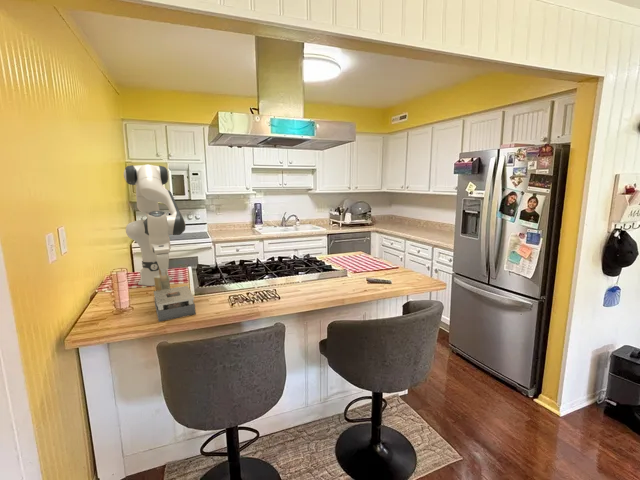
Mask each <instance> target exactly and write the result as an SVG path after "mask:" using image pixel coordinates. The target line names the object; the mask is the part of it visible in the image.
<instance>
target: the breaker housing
mask: <svg viewBox="0 0 640 480" xmlns="http://www.w3.org/2000/svg"><path fill="white" fill-rule="evenodd" d="M153 295H154V297H153V298H154V307H155V311H156V316H157V320H158V322H160V323H161V322H164V321H170V320H174V319H180V318H184V317H188V316H193V315H196V314H197V313H196V304H195V302H194V300H195V297H194V295H193V293H192V292H191V289H190V288H189V286H188V285H184V286H177V287H173V288H172V287H170V289H164V290H158V291H156V290H154V291H153ZM172 296H174V297H172Z"/></svg>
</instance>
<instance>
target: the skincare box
mask: <svg viewBox="0 0 640 480" xmlns="http://www.w3.org/2000/svg"><path fill="white" fill-rule="evenodd" d="M169 276H170V275H169V273H168V274H167V281H160V276H159V275H158V276H156V277H154V281H155V285H154V289H155V291H158V290H164V289H170V288H171V283H170V281H169Z"/></svg>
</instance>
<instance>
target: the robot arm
mask: <svg viewBox="0 0 640 480" xmlns="http://www.w3.org/2000/svg"><path fill="white" fill-rule="evenodd" d="M123 178H124V180H125V182H126V183H127V184H128V185H132V186H135V185H136V187H135V196H136V198H135V199H136V207H137V209H138V211H139V212H141V213H143V214H145V215H146V218H145V219H139V220H134V221H132V222H129V223H128V224H127V225H126V227H125V233H126V235H127V237H128V238H129V239H131V240H133V241H134V242H135V243H136V244H137V245H138V247H139V248H140V253H141V258H142V260H141V265H142V266H141V267H142V269H141V270H140V271H139V275H140V279H139V280H138V282H137V285H139V286H146V287H147V286H148V287H149V286H155V281H154V277H156V276H158V275H159V269H160V270H161V275H162V276H165V275H166V273H165V271H166V272H167V274H168V275H169V271H168V270H169V266H170V265H169V264H170V257H169V255H170V254H169V253H171V237H170V236H181V235H182V234H183V233H184V232H185V231H186V221H185V219H184V217H183V215H182V213H181V212H180V209H179V207H178V205H177V201H176V200H175V197H174V196H173V194H172V192H171V191H170V190H169V189H167V188H165V186H164V185H166V184H168V182H169V179H170V173H169V170H168V169H167V167H166V166H163V165H152V164H148V163H147V164H142V165H141V164H140V165H131V164H130V165H127V166H126V167H125V168H124V170H123ZM159 204H164V205H166V207H167V209H168V211H169V213H170V215H167V214H166V212H165V211H162V210H161V211H160V207H159ZM172 280H173V278H172V277H171V276H170V275H169V282H171V281H172Z"/></svg>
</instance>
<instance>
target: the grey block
mask: <svg viewBox="0 0 640 480" xmlns="http://www.w3.org/2000/svg"><path fill="white" fill-rule="evenodd" d="M165 273H166V275H165V276H162V275H161V270H160V269H159V276H160V281H167V272H166V271H165Z"/></svg>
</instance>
